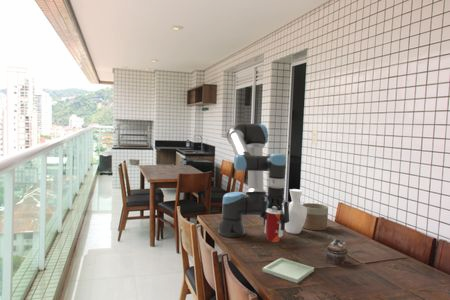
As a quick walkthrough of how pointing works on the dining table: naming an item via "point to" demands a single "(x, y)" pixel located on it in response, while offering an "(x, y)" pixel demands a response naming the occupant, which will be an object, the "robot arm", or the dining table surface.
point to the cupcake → (336, 252)
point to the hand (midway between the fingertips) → (273, 234)
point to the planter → (316, 216)
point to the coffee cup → (273, 224)
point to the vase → (295, 213)
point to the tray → (288, 270)
